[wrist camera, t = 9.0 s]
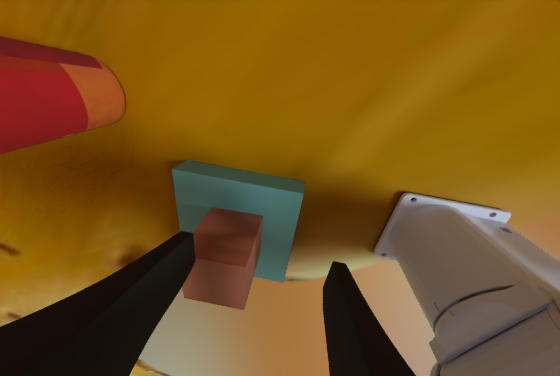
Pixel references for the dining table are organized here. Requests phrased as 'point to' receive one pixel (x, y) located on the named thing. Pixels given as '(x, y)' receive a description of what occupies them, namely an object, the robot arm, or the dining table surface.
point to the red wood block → (224, 258)
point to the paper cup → (53, 94)
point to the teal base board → (242, 206)
